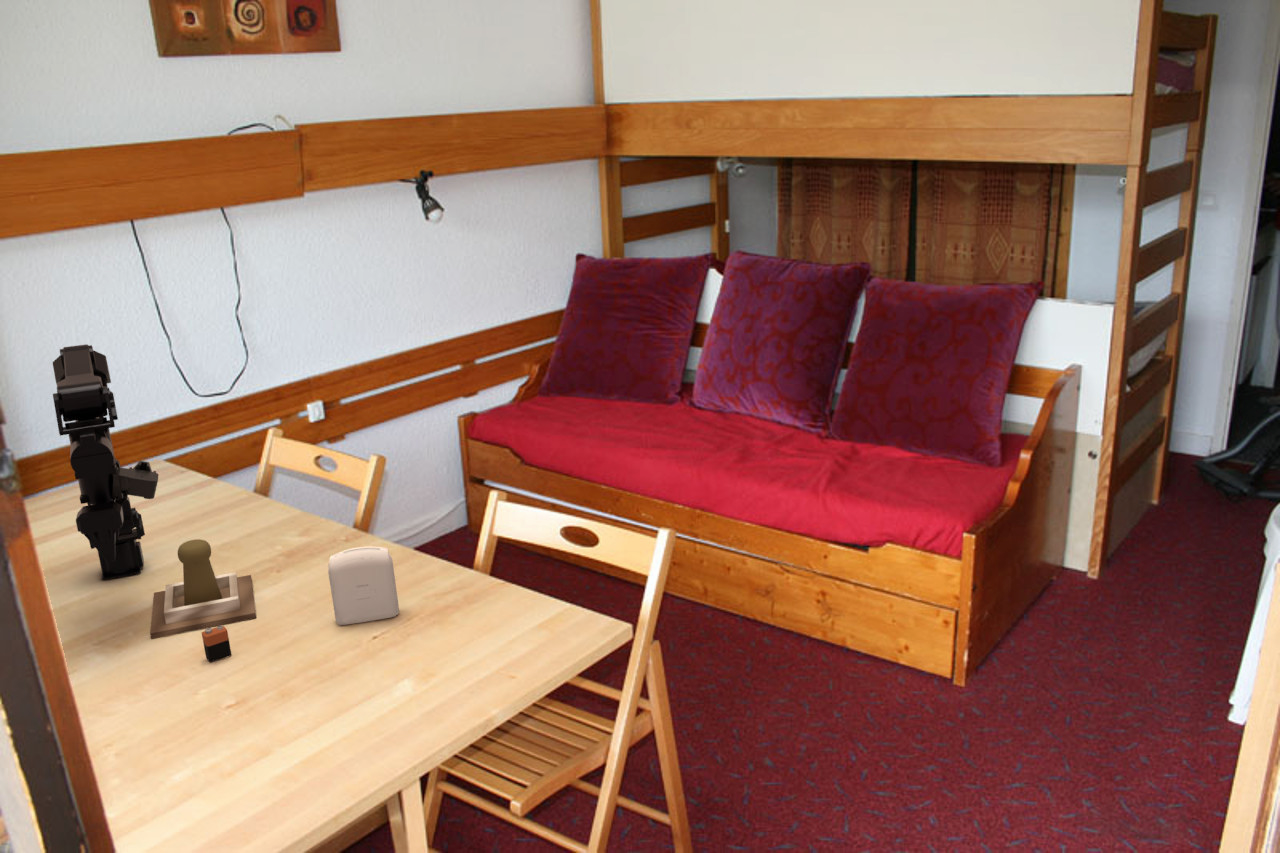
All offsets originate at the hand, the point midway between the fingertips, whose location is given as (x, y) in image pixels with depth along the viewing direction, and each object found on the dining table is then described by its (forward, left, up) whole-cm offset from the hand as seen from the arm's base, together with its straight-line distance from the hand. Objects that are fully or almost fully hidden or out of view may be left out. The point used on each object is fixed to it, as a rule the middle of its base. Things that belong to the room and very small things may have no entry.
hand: (113, 550), depth 171 cm
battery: (+14, -19, -13) cm, 27 cm away
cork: (+12, 0, -12) cm, 17 cm away
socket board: (+12, 0, -13) cm, 18 cm away
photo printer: (+37, -16, -13) cm, 42 cm away
